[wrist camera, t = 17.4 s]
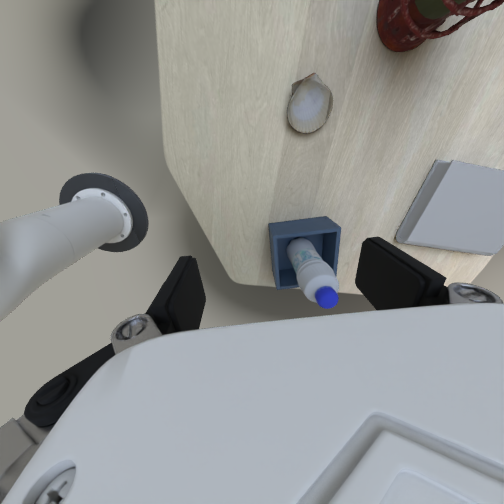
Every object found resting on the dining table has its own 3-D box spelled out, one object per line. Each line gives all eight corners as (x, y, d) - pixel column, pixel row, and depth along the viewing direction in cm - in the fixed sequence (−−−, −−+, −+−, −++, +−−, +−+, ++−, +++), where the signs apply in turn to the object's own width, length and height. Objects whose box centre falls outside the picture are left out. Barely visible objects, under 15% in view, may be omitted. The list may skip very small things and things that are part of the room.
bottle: (316, 248, 48) (359, 304, 30) (294, 263, 50) (322, 325, 32) (301, 228, 45) (338, 277, 28) (278, 245, 47) (299, 301, 29)
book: (453, 160, 37) (556, 181, 39) (435, 159, 40) (531, 178, 43) (404, 245, 45) (492, 258, 47) (393, 239, 48) (475, 251, 51)
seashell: (290, 136, 39) (333, 123, 37) (291, 140, 37) (336, 126, 34) (282, 85, 34) (330, 66, 32) (282, 85, 32) (334, 64, 29)
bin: (272, 271, 52) (276, 290, 45) (268, 223, 45) (272, 236, 38) (323, 265, 51) (335, 283, 44) (326, 216, 45) (341, 227, 38)
